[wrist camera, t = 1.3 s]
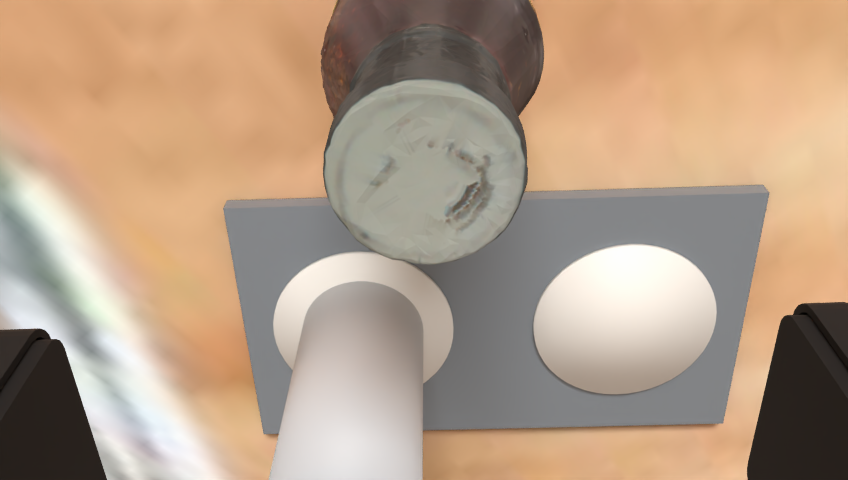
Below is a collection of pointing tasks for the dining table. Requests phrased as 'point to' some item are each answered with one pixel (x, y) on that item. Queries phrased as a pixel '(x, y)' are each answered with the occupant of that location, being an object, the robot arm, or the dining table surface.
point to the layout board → (492, 323)
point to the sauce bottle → (428, 121)
